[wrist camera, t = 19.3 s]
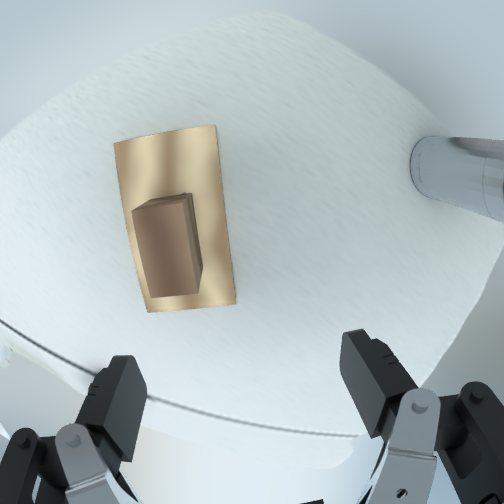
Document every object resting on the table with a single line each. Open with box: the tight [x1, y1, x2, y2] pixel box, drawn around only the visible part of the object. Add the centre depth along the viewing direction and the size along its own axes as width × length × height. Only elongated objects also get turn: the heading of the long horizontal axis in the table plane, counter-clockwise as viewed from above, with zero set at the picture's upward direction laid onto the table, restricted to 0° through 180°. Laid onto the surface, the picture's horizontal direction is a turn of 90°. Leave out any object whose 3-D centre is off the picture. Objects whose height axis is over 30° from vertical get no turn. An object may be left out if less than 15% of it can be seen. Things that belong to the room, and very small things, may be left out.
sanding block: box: [131, 193, 203, 298], centre depth 29 cm, size 5×9×7 cm, turn 6°
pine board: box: [114, 125, 236, 313], centre depth 33 cm, size 12×22×2 cm, turn 6°
